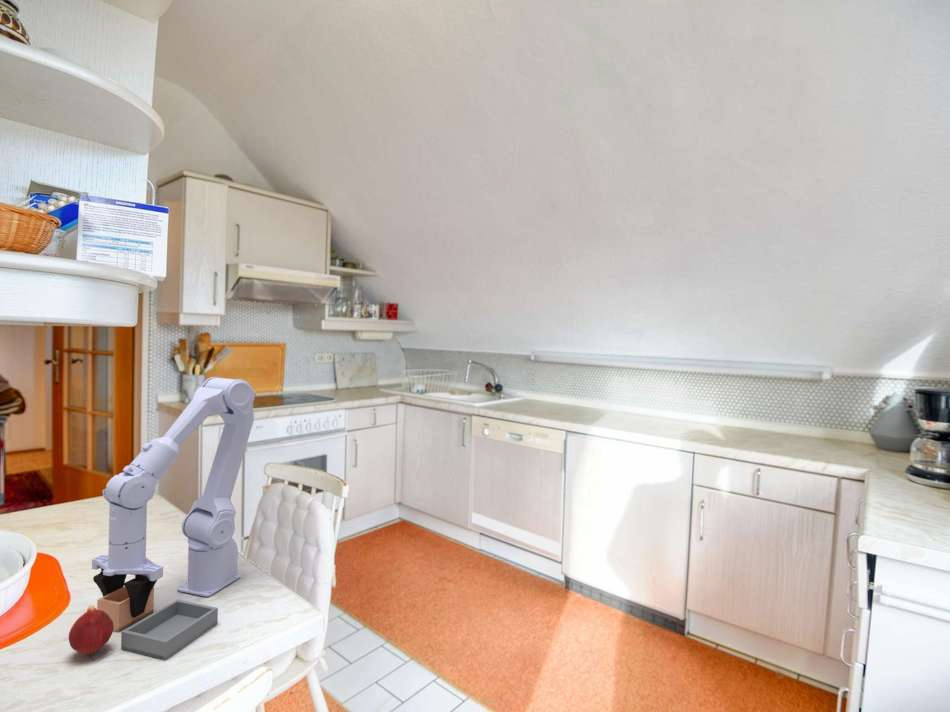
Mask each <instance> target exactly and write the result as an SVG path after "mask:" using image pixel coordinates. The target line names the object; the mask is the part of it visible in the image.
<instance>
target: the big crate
mask: <svg viewBox="0 0 950 712" xmlns="http://www.w3.org/2000/svg"><path fill="white" fill-rule="evenodd" d="M218 612H219V608H218V607H215V606H210V605H205V604H201V603H196V602H191V601H187V600H182V599H175V600H174V601H172V602H171V603H169V604H167V605H166V606H163V607H162V608H160V609H158V610H157V611H155V612H153V613H151V614H150V615H148V616H146V617H144V618H143V619H141V620H139V621H137V622H136V623H134V624H132V625H130V626H129V627H127V628H125V629H123V630H122V631H120V633H121V638H120V639H121V640H120V641H121V642H120V644H121V645H120V649H121V650H122V651H126V652H131V653H134V654H139V655H141V656H142V655H143V656H146V657H150V658H155V659H158V660H163V661H167V660H168V659H170V658H171V657H173V656H174V655H175V654H177V653H178V652H179V651H181V650H182V649H184V648H185V647H187V646H188V645H189V644H191V643H192V642H194V641H196V640H197V639H198V638H200V637H201V636H203V635H205V633H207V632H208V631H210V630H211V629H213V627H214V628H215V626H216V625H218V621H219V619H218V616H219V615H218V614H219V613H218Z"/></svg>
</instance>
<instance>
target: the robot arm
mask: <svg viewBox="0 0 950 712" xmlns="http://www.w3.org/2000/svg"><path fill="white" fill-rule="evenodd" d="M255 398H256V392H255V390H254V389H253V387H252V386H251V384H250V383H249V382H248V381H247V380H245V379H240V378H237V379H235V378H234V379H233V378H224V377H219V376H212V377H209V378H207V379H205V381H203V382H202V385H201V386H200V387H199V388H197V389H196V390H195V391H194V395H193V398H192V399H191V400H190V402H189V403H188V405H187V406H186V407H185V408H184V410H183V411H182V412H181V413H180V415H179V416H178V418H176V420H175V421H174V422H173V423H172V425H171V426H170V428H169V429H168V430H167V431H166V433H165V434H164V435H163V436H160V437H157V438H153V439H151V441H149V442H145V443H144V444H143V445H142V446H141V449H142V450H141V451H140V452H139V453H138V455H136V457H135V458H134V459H133V460H132V461H131V463H130V464H129V465H126V466H124V468H123V469H122V471H123V472H120V473H119V474H115V475H114V476H113V477H111V478H110V479H109V480H108V482H107V483H106V486H105V488H104V489H102V497H103V498H104V499H105V501H107V502H108V504H109V511H108V512H109V514H108V554H107V555H106V554H100V555H98V556H95V557H93V558H92V559H91V570H95V571H96V570H99V569H100V572H99V573H97V574H95V575H94V576H93V577H92V578H93V580H92V581H93V582H94V583H95V584H96V585H97V587H98V589H99V591H100V592H101V594H102V597H104V596H106V595H108V594H110V593H112V592H114V591H116V590H118V589H120V588H122V587H124V586H125V587H126V589H127V592H128V595H129V599H130V612H131V616H132V617H134V618H135V617H137V616H139V615H140V614H142V613H144V611H145V608H146V604H147V601H148V598H149V595H150V593H151V591H152V589H153V587H154V588H155V585H156V583H157V582H158V580H159V579H161V578H163V577H164V566H163V565H159V564H157V563H155V562H154V561H152V560H150V559H149V558H147V523H148V522H147V518H148V515H147V514H148V503H149V501H151V500H152V499H153V498H154V496H155V493H156V492H155V491H156V485H157V484H158V481H159V480H161V478H162V477H163V475H164V474H165V473H167V471H168V469H170V467H171V466H172V465H173V464H174V463H175V461H176V460H177V459H178V458H179V456H180V446H181V445H182V444H183V443H184V442H185V441H186V440H187V439H188V438H189V437H190V436H191V435H192V434H193V432H195V430H196V429H198V427H199V426H200V425H201V424H202V423H203V422H204V421H206V419H207V418H208V417H210V416H215V415H218V416H219V417H220V418H221V419H222V421H223V423H224V426H223V428H222V432H221V435H220V437H219V438H220V439H219V443H217V444H218V446H217V448H216V451H215V455H214V458H213V461H212V464H211V466H210V471H209V474H208V477H207V481H206V484H205V487H204V490H203V494H202V495H201V496H200V497H199V498H197V499H196V500H195V501H193V502H192V506H191V508H190V510H189V512H188V513H187V514H186V515H185V517H184V519H183V521H182V524H181V531H182V534H183V535H184V536H185V537H186V538H187V545H188V547H187V548H188V549H187V551H188V552H187V582H185V583H184V584H183V585H181V586H178V587H177V588H176V590H177V592H182V593H187V594H192V595H196V596H201V597H206V598H207V597H210V596H212V595H214V594H215V593H217V592H218V591H221V590H222V589H223V588H225V587H227V586H228V585H230V584H232V583H233V582H235V581H236V580H238V579H240V578H241V574H239V573H238V558H239V557H238V556H239V554H238V553H239V549H238V545H237V541H236V540H235V539H234V538H233V535H234V533H235V531H236V526H235V518H236V517H235V516H236V512H237V511H236V509H235V507H234V504H233V502H232V500H231V499H232V495H233V493H234V489H235V485H236V481H237V478H238V474H239V472H240V468H241V465H242V462H243V458H244V455H245V451H246V448H247V444H248V441H249V438H250V435H251V431H252V428H253V425H254V421H255V416H254V414H255V413H254V401H255ZM128 575H131V576H134V577H133V578H132V579H129V580H128V581H126V578H127V576H128Z"/></svg>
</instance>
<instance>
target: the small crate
mask: <svg viewBox="0 0 950 712" xmlns="http://www.w3.org/2000/svg"><path fill="white" fill-rule="evenodd" d="M154 598H155V586H154V587H153V589H152V591H151V593H150V595H149V598H148V601H147V604H146V608H145V611H144V613H142V614H140V615H139V616H137V617H135V618H134V617H132V616H131V612H130V599H129V595H128V592H127V589H126V587H125V586H124V587H122V588H120V589H118V590H116V591H114V592H112V593H110V594H108V595H106V596H104V597H103V596H102V597H100V598H98V599H96V600H97V605H96V609H97V610H102V611H104V612H106V613H107V614H108V615H109V617H110V618H111V619H112V621H113V626H114V628H113V632H117V633H121V632H122V631H124V630H125V629H127V628H129V627H131V626H132V625H134V624H136V623H137V622H139V621H141V620H143V619H144V618H146V617H148V616H150V615H151V614H153V613H154V609H155V607H154V606H155V605H154V604H155V599H154Z"/></svg>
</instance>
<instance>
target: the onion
mask: <svg viewBox="0 0 950 712" xmlns="http://www.w3.org/2000/svg"><path fill="white" fill-rule="evenodd" d="M113 628H114V626H113V621H112V619H111V618H110V617H109V615H108V614H107V613H106V612H104V611H102V610H97V607H95V606H94V605H89V606H88V608H87V609H86V612H85V613H83V614H82V615H80V616H79V617H78V618H77V619H76V620H75V622H74V623H73V624H72V626H71V628H70V630H69V633H68V637H67V639H68V642H69V646H70V648H72V649H73V650H74V651H76V652H77V653H79V654H83V655H85V656H91V655H93V654H94V653H96V652H97V651H99V650H100V649H101V648H102V647H104V646H105V645H106V644H107V643H108V642H109V641H110V639H111V638H112V637H111V636H112V634H113V632H114V631H113Z"/></svg>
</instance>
